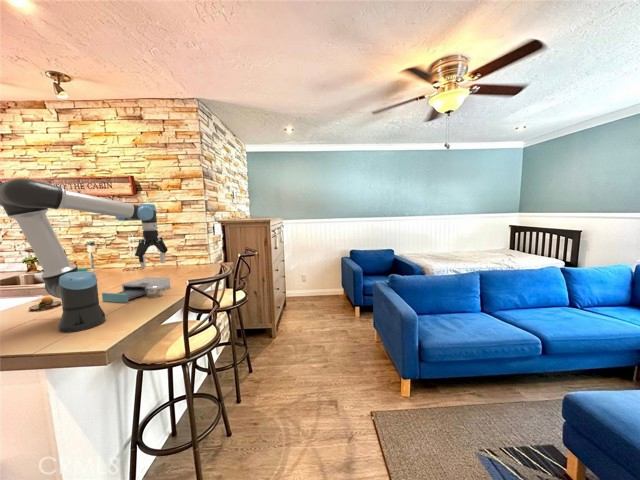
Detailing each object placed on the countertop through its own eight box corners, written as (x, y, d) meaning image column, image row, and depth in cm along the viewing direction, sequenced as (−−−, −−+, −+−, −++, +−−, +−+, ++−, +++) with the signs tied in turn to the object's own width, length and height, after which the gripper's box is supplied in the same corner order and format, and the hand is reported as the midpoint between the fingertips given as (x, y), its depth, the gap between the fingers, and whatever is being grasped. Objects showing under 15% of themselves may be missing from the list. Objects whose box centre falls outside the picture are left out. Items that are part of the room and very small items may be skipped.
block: (155, 297, 146) (154, 289, 146) (148, 297, 147) (147, 289, 147) (162, 295, 151) (161, 287, 151) (155, 294, 152) (154, 287, 152)
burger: (54, 303, 141) (52, 290, 140) (67, 305, 137) (65, 292, 136) (23, 310, 129) (21, 297, 129) (37, 313, 126) (35, 299, 125)
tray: (126, 302, 138) (125, 294, 137) (102, 301, 141) (101, 293, 141) (152, 293, 154) (151, 286, 153) (130, 292, 157) (129, 285, 157)
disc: (154, 290, 144) (154, 287, 144) (143, 290, 146) (142, 287, 146) (165, 286, 152) (165, 284, 152) (154, 286, 154) (154, 283, 153)
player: (146, 296, 149) (145, 285, 149) (122, 295, 153) (121, 283, 152) (170, 288, 167) (169, 277, 166) (148, 287, 171) (147, 277, 170)
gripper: (135, 231, 132) (139, 270, 135) (172, 228, 157) (175, 261, 159) (124, 231, 134) (128, 269, 136) (162, 228, 158) (165, 261, 161)
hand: (153, 265), depth 148 cm, fingers open, 13 cm apart
